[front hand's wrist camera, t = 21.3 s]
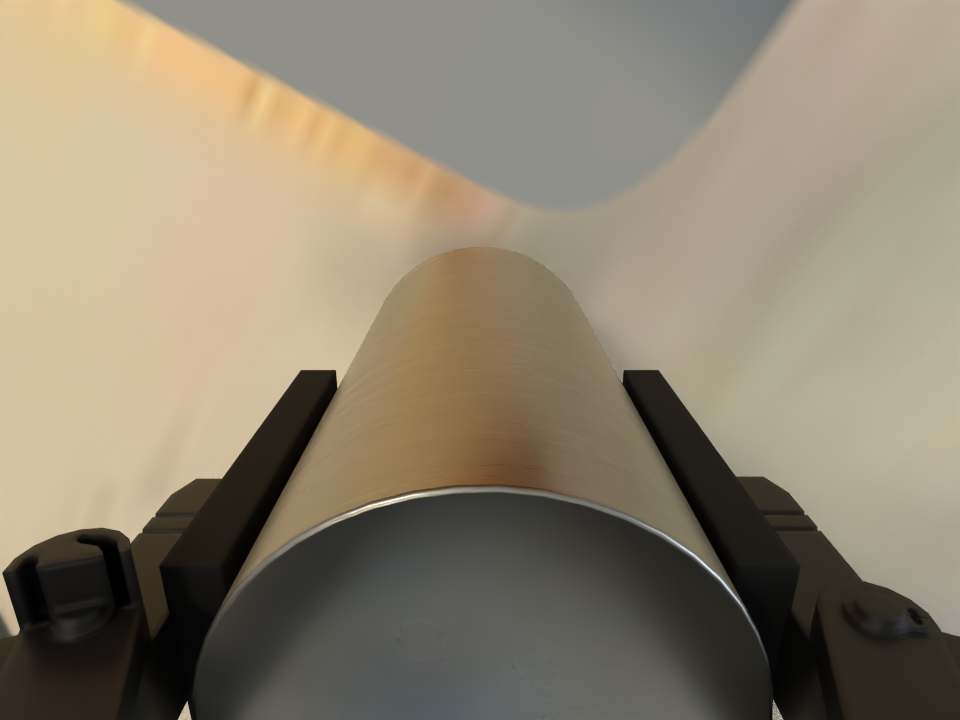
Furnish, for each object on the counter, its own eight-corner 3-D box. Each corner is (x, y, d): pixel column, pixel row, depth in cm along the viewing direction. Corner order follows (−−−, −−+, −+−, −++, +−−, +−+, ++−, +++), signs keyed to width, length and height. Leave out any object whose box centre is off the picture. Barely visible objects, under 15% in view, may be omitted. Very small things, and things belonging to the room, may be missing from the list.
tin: (387, 458, 19) (255, 933, 8) (357, 255, 17) (118, 511, 6) (591, 443, 19) (754, 908, 8) (587, 237, 17) (802, 463, 6)
